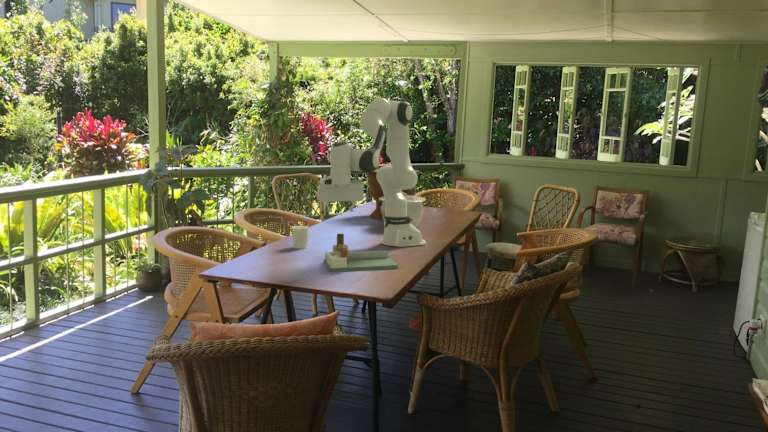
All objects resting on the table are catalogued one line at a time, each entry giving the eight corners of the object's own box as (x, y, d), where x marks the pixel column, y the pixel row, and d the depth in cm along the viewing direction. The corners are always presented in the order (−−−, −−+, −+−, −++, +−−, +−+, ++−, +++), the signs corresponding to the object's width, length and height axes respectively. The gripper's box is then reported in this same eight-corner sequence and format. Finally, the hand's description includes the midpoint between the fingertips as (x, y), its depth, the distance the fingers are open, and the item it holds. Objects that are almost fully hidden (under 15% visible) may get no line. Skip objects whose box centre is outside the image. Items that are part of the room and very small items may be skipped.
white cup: (297, 249, 300) (297, 229, 298) (289, 247, 306) (289, 226, 304) (311, 247, 305) (311, 227, 303) (303, 245, 311) (303, 225, 309)
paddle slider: (346, 257, 277) (346, 233, 275) (352, 264, 265) (352, 238, 263) (332, 257, 275) (332, 233, 274) (338, 264, 263) (338, 239, 261)
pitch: (387, 259, 283) (387, 247, 282) (397, 268, 266) (397, 255, 265) (323, 262, 275) (323, 250, 274) (330, 271, 259) (330, 258, 258)
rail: (387, 257, 281) (387, 250, 280) (388, 257, 279) (388, 251, 279) (325, 259, 274) (325, 253, 273) (325, 260, 272) (325, 253, 272)
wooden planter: (376, 211, 421) (377, 167, 416) (426, 214, 408) (427, 169, 403) (355, 218, 389) (356, 171, 384) (409, 223, 377) (410, 174, 372)
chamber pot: (426, 231, 349) (427, 195, 346) (377, 231, 350) (377, 194, 346) (424, 223, 377) (425, 189, 374) (378, 222, 377) (379, 188, 374)
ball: (336, 265, 268) (341, 257, 268) (338, 267, 264) (343, 259, 264) (328, 260, 266) (333, 252, 266) (330, 262, 263) (335, 254, 263)
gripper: (362, 178, 274) (362, 209, 277) (316, 179, 269) (316, 211, 272) (365, 180, 268) (365, 212, 271) (318, 181, 263) (318, 213, 266)
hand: (340, 211), depth 271 cm, fingers open, 8 cm apart
